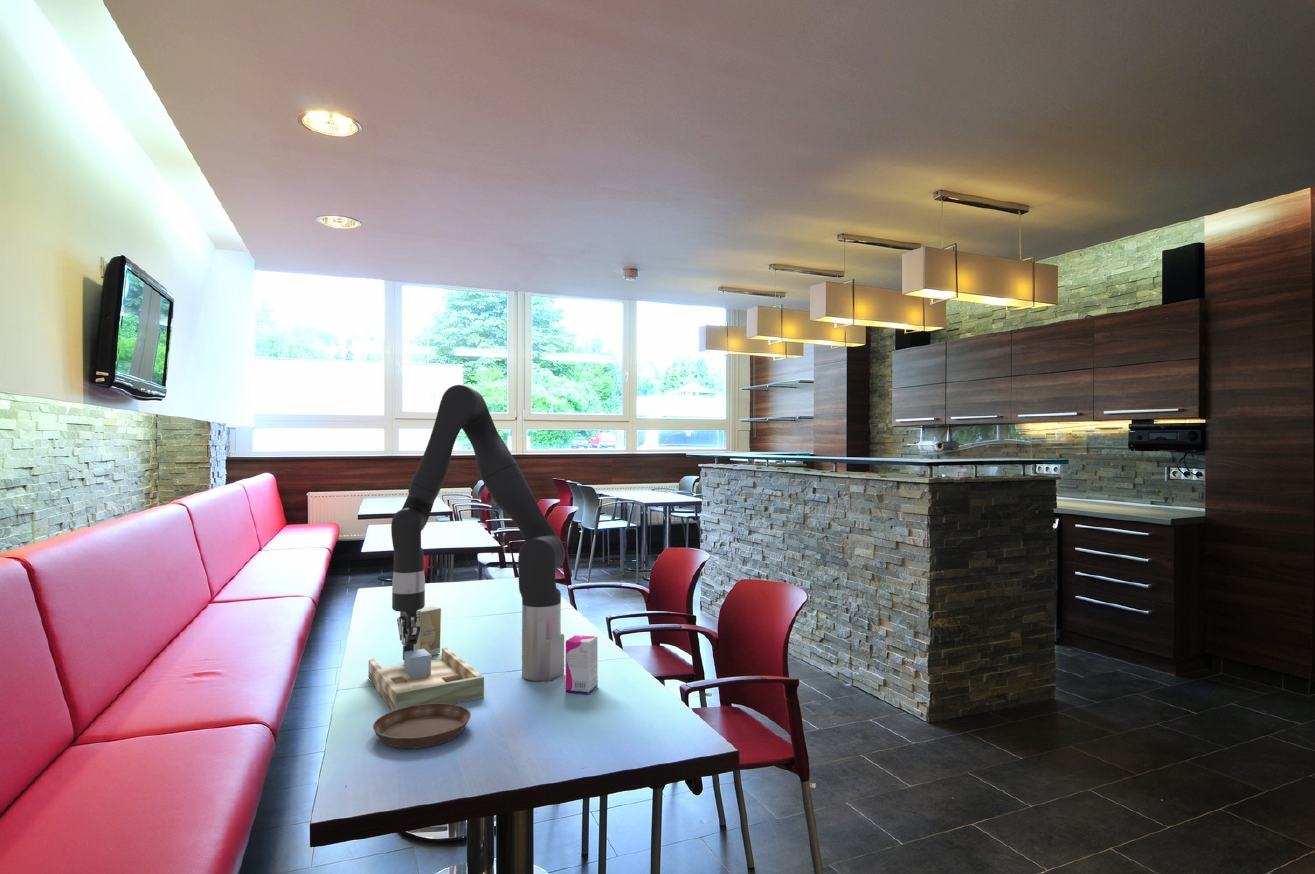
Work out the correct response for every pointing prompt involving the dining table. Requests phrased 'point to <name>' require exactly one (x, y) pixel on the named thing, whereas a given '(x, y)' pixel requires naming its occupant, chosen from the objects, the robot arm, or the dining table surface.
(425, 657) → the block
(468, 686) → the channel
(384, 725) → the plant saucer
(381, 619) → the dining table surface
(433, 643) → the skincare box
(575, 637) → the supplement box
